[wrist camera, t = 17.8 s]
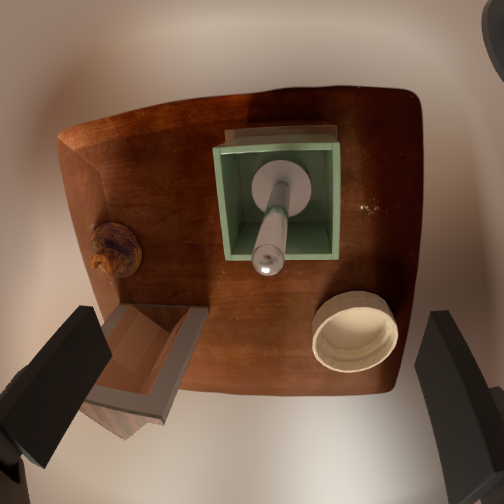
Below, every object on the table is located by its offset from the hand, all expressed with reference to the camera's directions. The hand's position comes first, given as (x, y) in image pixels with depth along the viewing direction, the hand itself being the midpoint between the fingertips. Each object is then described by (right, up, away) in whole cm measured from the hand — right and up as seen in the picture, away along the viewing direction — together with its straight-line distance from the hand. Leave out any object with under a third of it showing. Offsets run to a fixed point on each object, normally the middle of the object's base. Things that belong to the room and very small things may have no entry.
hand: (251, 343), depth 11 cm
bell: (-27, +4, +49) cm, 56 cm away
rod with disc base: (+3, +11, +22) cm, 25 cm away
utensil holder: (+6, +18, +37) cm, 42 cm away
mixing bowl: (+20, -11, +49) cm, 54 cm away
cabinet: (-19, -12, +56) cm, 60 cm away
